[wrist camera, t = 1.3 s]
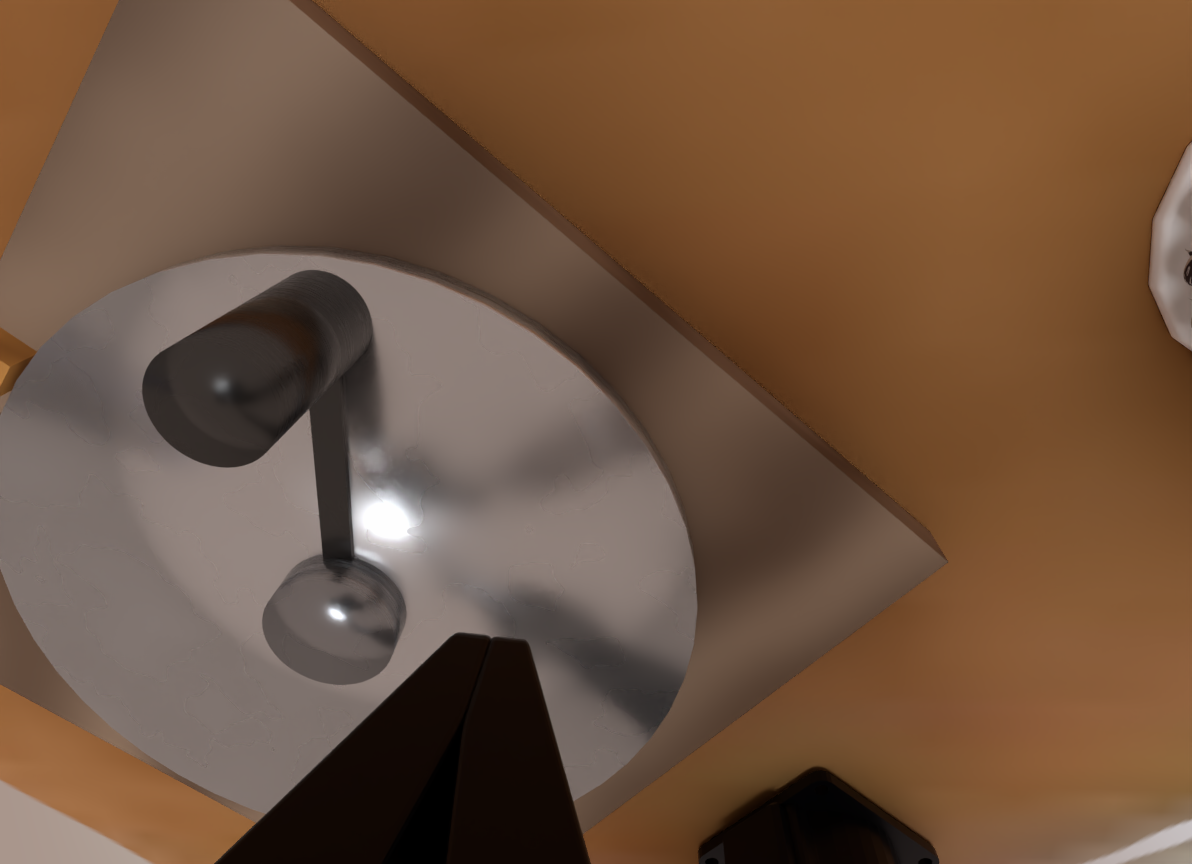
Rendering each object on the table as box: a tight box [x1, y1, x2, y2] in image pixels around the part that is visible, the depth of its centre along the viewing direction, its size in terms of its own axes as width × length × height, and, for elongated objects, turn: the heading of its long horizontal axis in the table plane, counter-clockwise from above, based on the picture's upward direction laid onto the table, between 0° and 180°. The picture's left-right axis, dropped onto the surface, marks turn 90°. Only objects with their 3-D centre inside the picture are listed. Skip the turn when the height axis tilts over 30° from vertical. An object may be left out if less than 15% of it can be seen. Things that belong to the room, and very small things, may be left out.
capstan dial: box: [0, 245, 697, 814], centre depth 20 cm, size 20×20×6 cm
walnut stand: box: [0, 0, 948, 834], centre depth 23 cm, size 24×24×2 cm
